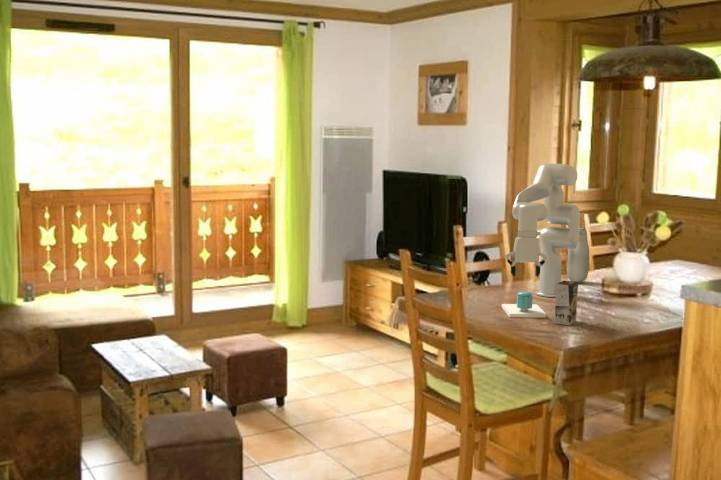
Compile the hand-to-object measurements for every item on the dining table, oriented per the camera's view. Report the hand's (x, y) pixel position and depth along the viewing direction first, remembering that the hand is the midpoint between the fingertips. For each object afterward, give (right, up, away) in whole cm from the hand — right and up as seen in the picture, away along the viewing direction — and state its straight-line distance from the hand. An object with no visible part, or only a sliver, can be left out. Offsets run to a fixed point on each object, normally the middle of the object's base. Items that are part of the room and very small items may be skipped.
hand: (525, 275), depth 321 cm
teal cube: (0, -13, +2) cm, 13 cm away
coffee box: (+14, -18, -10) cm, 25 cm away
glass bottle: (+41, -7, +72) cm, 83 cm away
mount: (+1, -16, +6) cm, 17 cm away
